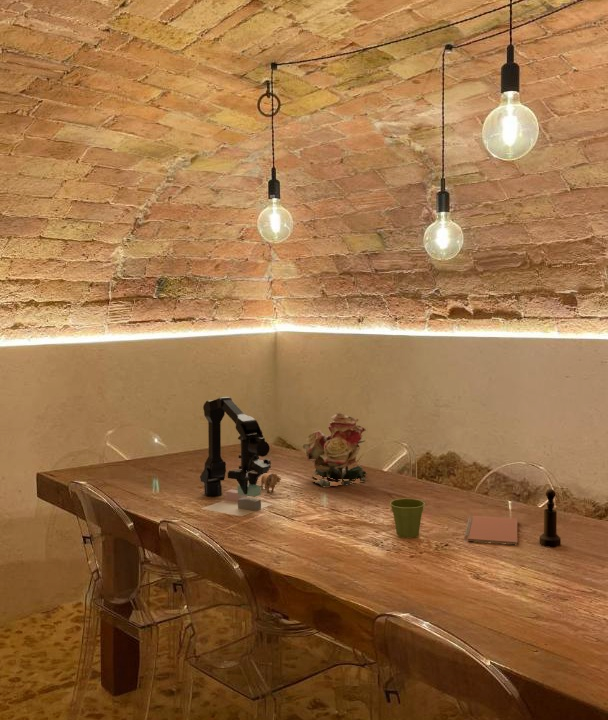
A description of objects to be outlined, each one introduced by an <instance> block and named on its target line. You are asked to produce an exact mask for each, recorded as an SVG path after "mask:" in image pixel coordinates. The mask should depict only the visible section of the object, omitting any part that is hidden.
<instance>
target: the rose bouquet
mask: <svg viewBox="0 0 608 720" xmlns="http://www.w3.org/2000/svg"><path fill="white" fill-rule="evenodd" d="M330 418H331V419H332V421H330V422H329V425H328V428H327V429H328V430H329V432H330V435H326V434H324V433H322V430H320V429H319V430H316V431H313V432H312V433H310V434H309V435H308V437H307V439H305V442H306V443H304V444H303V445H302V448H303V449H304V450H305V452H304V455H305V457H307V460H308V461H309V460H312V463H314V468H315V471H314V473H313V474H315V475H320V476H322V477H327V478H328V477H330V478H333V479H342V482H341V484H342V485H344V486H347V485H346V484H350V483H352V482H350V481H351V480H349V481H344V480H343V479H355V480H356V479H358V478H360V481H364V482H365V481H366V478H365V475H367V472H366V471H365V470H364V468H363V467H361V466H362V465H363V463H361V464H360V465H357V466H354V467H352V468H350V469H349V467H350V466H351V465H354V464H355V463H356V462H357V457H358V454H359V452H360V445H359V444H363V443H365V442H366V440H363V435H362V434H363V433H364V432H366V431H367V430H366V428H365V427H363V426H361V425H357V422H359V419H358V418H356V419H355V418H354V417H352V416H348V415H346V414H343V413H341V412H339V413H335V414H334V415H332V416H331V417H330ZM363 474H364V475H363ZM322 479H323V478H322ZM322 479H319V480H320V481H318V482H315V483H314V484H319V485H320V486H321V487H322V486H330V482H329V481H325V480H322Z"/></svg>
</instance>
